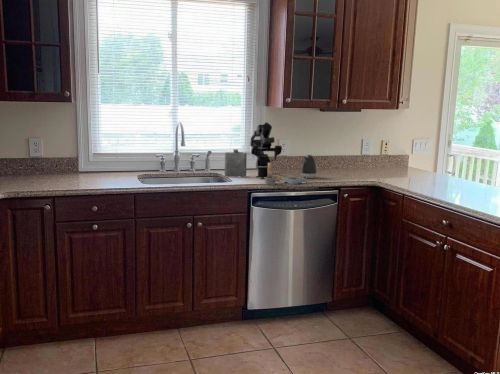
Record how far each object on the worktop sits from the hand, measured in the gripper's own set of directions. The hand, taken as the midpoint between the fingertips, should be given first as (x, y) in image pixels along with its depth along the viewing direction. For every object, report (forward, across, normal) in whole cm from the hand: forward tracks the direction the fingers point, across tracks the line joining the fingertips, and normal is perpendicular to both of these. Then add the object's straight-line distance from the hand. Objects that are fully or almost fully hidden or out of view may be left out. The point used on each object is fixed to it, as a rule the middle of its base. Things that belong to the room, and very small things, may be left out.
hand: (267, 160), depth 310 cm
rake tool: (+15, 0, +4) cm, 16 cm away
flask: (-6, -17, +26) cm, 32 cm away
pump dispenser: (0, +30, +20) cm, 36 cm away
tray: (+11, +16, +8) cm, 21 cm away
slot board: (+4, +11, +15) cm, 19 cm away
